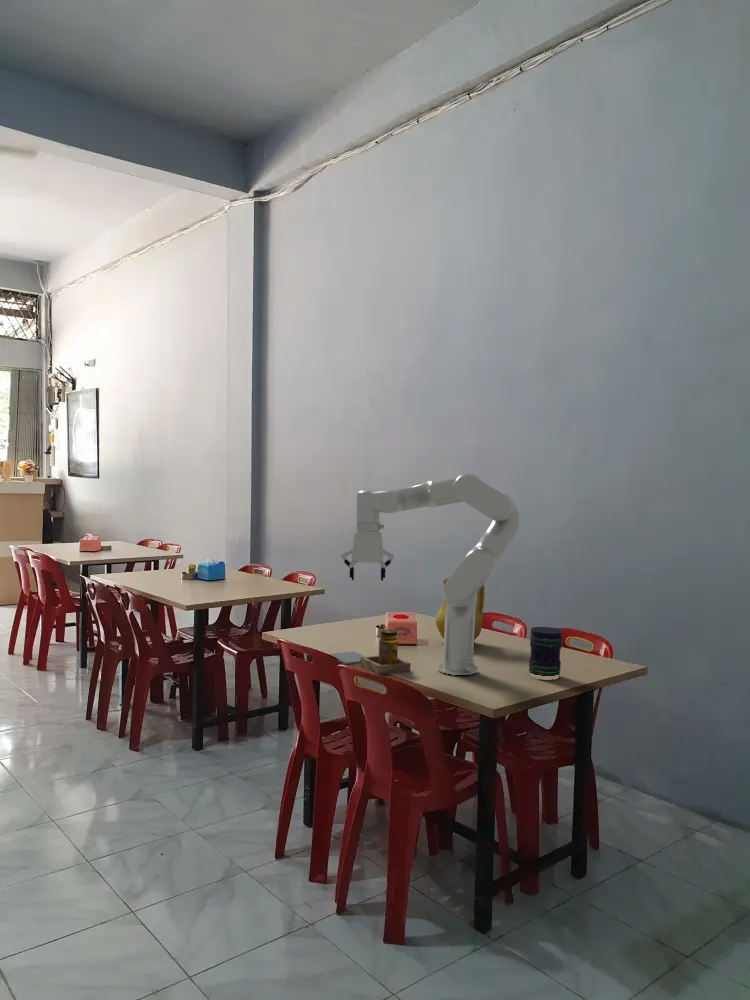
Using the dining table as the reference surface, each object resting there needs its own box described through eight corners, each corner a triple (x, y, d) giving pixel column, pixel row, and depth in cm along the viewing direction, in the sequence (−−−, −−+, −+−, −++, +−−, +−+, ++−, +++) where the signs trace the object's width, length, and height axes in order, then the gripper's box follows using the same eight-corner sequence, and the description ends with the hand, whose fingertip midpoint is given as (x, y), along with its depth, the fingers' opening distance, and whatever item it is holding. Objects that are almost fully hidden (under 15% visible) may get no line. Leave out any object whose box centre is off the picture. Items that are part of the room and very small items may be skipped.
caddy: (410, 671, 246) (410, 663, 246) (379, 674, 241) (379, 666, 241) (390, 662, 257) (391, 654, 257) (360, 664, 251) (360, 657, 251)
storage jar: (556, 673, 251) (558, 627, 250) (563, 681, 241) (565, 633, 241) (525, 671, 251) (527, 626, 250) (531, 680, 241) (533, 632, 241)
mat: (372, 661, 256) (372, 660, 256) (345, 664, 251) (345, 662, 251) (354, 653, 268) (354, 651, 268) (328, 655, 263) (328, 653, 263)
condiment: (402, 669, 248) (403, 632, 248) (380, 672, 243) (381, 634, 243) (389, 664, 254) (390, 628, 254) (367, 666, 249) (369, 630, 249)
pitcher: (432, 638, 297) (434, 573, 296) (480, 640, 297) (483, 575, 297) (437, 648, 279) (440, 580, 279) (488, 650, 280) (491, 581, 279)
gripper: (393, 527, 257) (393, 578, 258) (341, 527, 257) (341, 578, 257) (394, 529, 250) (394, 581, 250) (341, 528, 249) (340, 581, 250)
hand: (367, 580), depth 254 cm, fingers open, 9 cm apart
